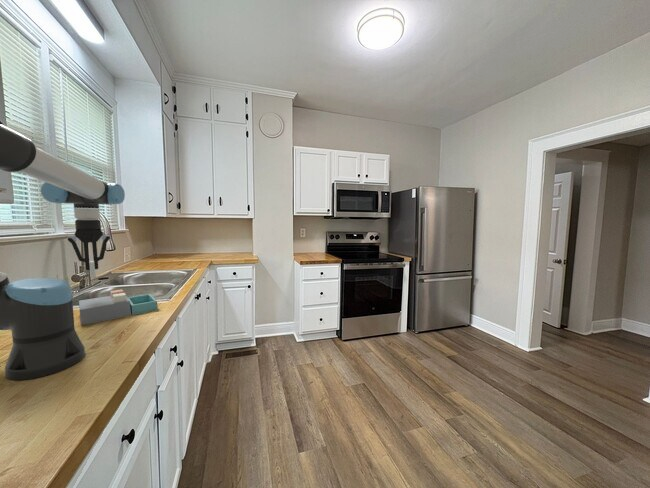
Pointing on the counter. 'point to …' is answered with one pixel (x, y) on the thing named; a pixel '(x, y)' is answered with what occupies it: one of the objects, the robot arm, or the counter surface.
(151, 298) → the bin
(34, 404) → the counter surface
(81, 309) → the grey flat block
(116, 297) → the cream tile
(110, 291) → the terracotta tile
